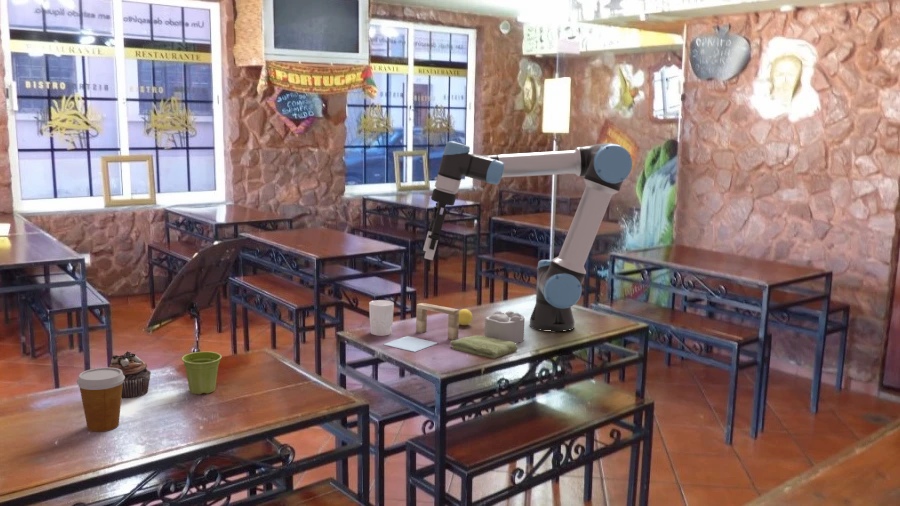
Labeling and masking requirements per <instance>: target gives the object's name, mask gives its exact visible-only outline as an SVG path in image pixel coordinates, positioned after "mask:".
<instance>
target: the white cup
mask: <svg viewBox="0 0 900 506" xmlns="http://www.w3.org/2000/svg"><path fill="white" fill-rule="evenodd" d="M368 305H369V306H368V307H369V310H368V311H369V326H370V334H371V335H374V336H379V337H380V336H382V337H383V336H389V335H391V334H392V332H393V331H392V328H393V327H392V326H393V321H394V308H395V307H394V306H395V303H394V301H392V300H386V299H385V300H384V299H378V300H377V299H376V300H371V301H369V302H368Z"/></svg>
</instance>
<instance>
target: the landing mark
mask: <svg viewBox="0 0 900 506" xmlns="http://www.w3.org/2000/svg"><path fill="white" fill-rule="evenodd" d="M438 344H439V343H438V342H436V341H430V340H425V339H423V338H418V337H413V336H410V335H409V336H408V335H406V336H403V337H400V338H397V339H394V340H391V341H388V342H386V343H383V344H382V345H383V346H386V347H390V348H396V349H400V350H404V351H407V352H411V353H416V352H419V351H422V350H424V349H426V348H429V347H432V346H435V345H438Z"/></svg>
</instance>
